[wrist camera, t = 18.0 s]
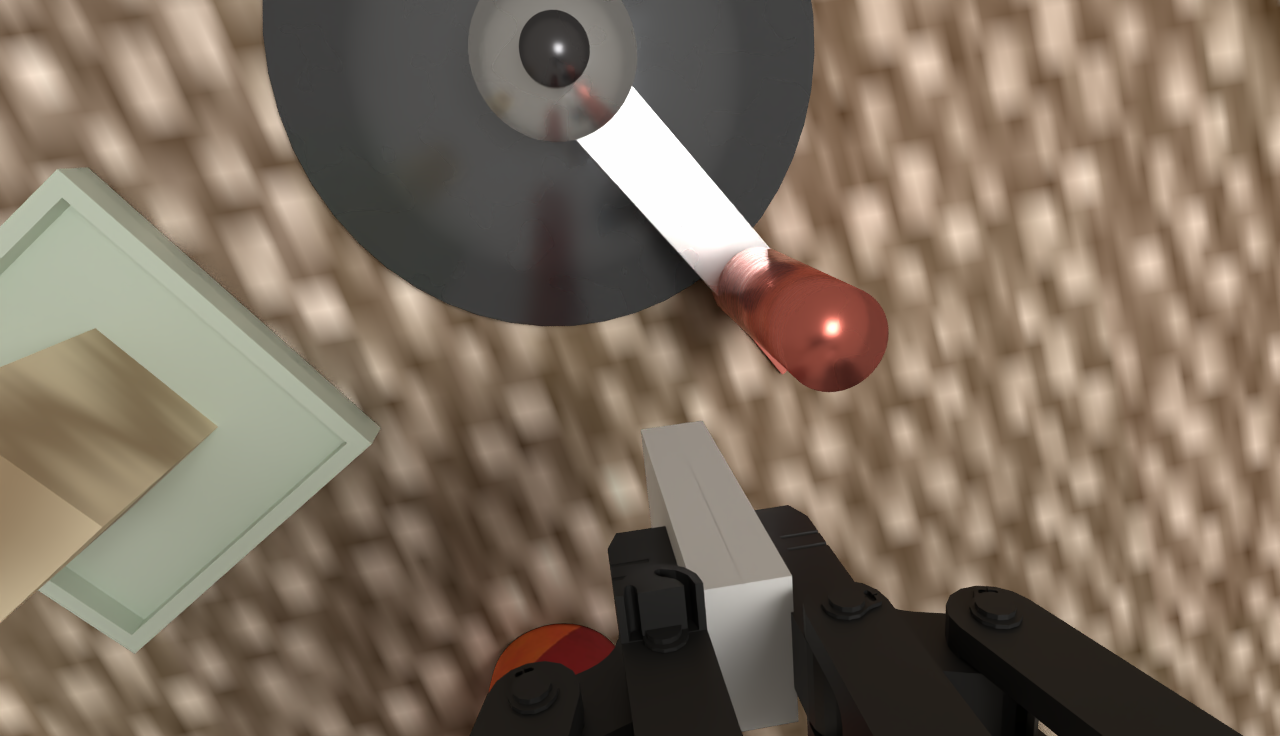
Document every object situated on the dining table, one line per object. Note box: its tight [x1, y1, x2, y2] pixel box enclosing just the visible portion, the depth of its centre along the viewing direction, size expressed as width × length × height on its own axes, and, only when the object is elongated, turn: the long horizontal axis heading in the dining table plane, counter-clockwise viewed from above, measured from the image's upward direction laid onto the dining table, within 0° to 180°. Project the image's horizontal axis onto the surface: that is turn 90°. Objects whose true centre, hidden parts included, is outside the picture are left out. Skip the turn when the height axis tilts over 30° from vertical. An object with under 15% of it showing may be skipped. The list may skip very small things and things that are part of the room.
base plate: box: [263, 0, 814, 326], centre depth 22 cm, size 18×18×4 cm
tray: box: [0, 168, 381, 654], centre depth 25 cm, size 13×13×2 cm
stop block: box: [0, 328, 218, 623], centre depth 21 cm, size 5×5×7 cm
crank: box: [468, 0, 888, 392], centre depth 20 cm, size 14×5×9 cm, turn 43°
